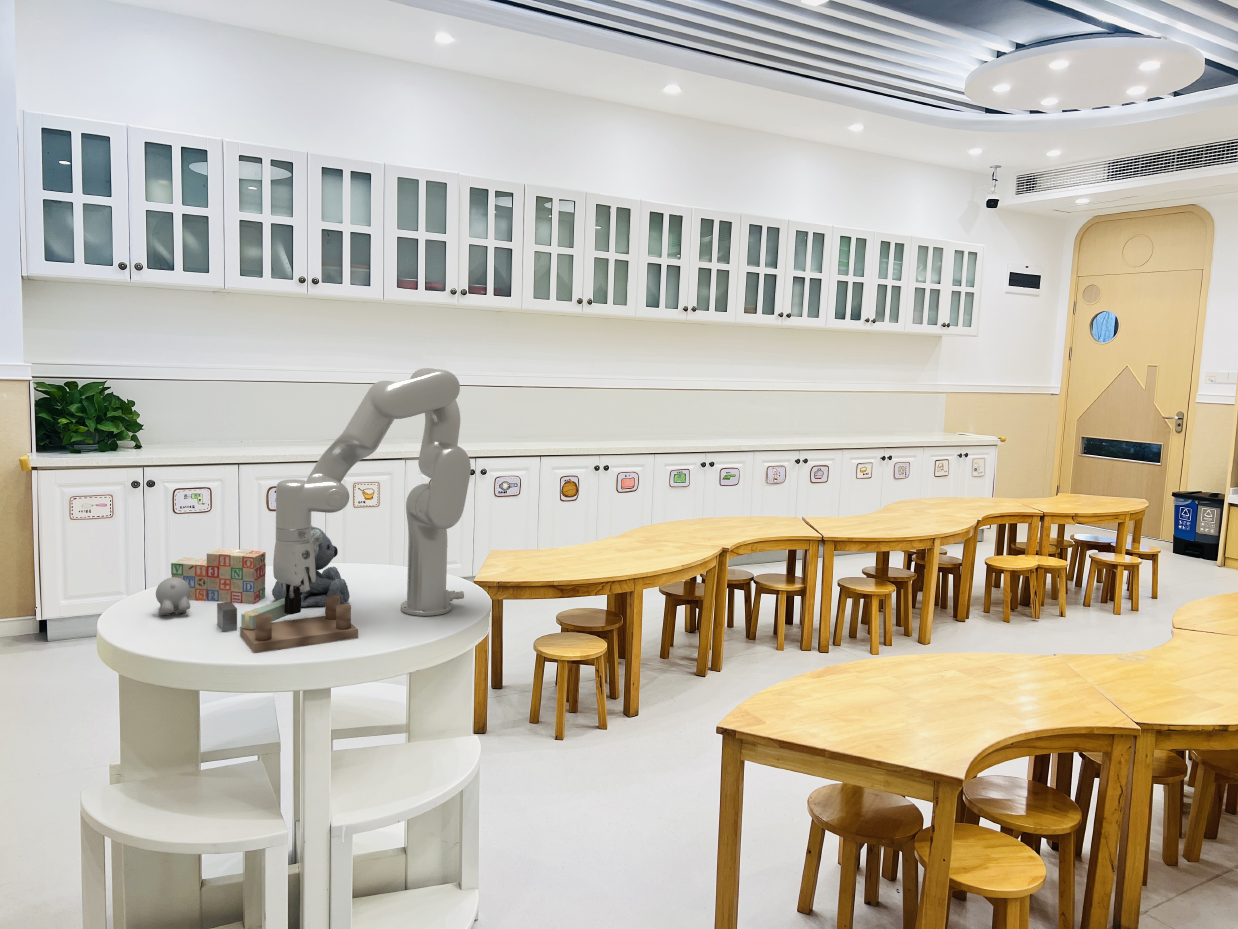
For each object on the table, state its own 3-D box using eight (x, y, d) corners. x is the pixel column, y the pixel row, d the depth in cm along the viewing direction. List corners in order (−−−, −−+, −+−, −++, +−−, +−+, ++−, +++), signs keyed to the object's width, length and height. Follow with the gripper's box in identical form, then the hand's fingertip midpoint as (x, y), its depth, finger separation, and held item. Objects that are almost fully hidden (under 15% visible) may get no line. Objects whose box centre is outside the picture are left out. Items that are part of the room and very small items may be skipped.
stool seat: (339, 622, 206) (340, 593, 205) (358, 637, 196) (358, 607, 195) (240, 635, 193) (240, 604, 193) (253, 653, 183) (253, 620, 182)
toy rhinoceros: (185, 616, 213) (183, 581, 215) (193, 610, 204) (191, 573, 205) (152, 619, 209) (150, 584, 211) (159, 613, 200) (157, 576, 201)
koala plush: (351, 607, 219) (352, 530, 216) (274, 613, 211) (274, 533, 209) (341, 589, 234) (342, 517, 232) (269, 594, 226) (269, 519, 224)
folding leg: (252, 630, 191) (252, 615, 190) (240, 628, 192) (240, 613, 191) (297, 611, 205) (297, 598, 205) (285, 610, 206) (286, 596, 206)
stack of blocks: (170, 599, 218) (170, 550, 216) (184, 592, 224) (184, 545, 223) (254, 604, 217) (254, 556, 215) (266, 598, 223) (266, 550, 222)
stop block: (231, 622, 202) (231, 601, 201) (237, 630, 197) (237, 608, 196) (217, 624, 200) (217, 603, 199) (222, 632, 195) (222, 610, 194)
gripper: (328, 537, 197) (327, 616, 199) (288, 527, 206) (287, 603, 208) (298, 542, 191) (298, 623, 193) (259, 531, 200) (259, 609, 202)
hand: (292, 612), depth 201 cm, fingers closed
